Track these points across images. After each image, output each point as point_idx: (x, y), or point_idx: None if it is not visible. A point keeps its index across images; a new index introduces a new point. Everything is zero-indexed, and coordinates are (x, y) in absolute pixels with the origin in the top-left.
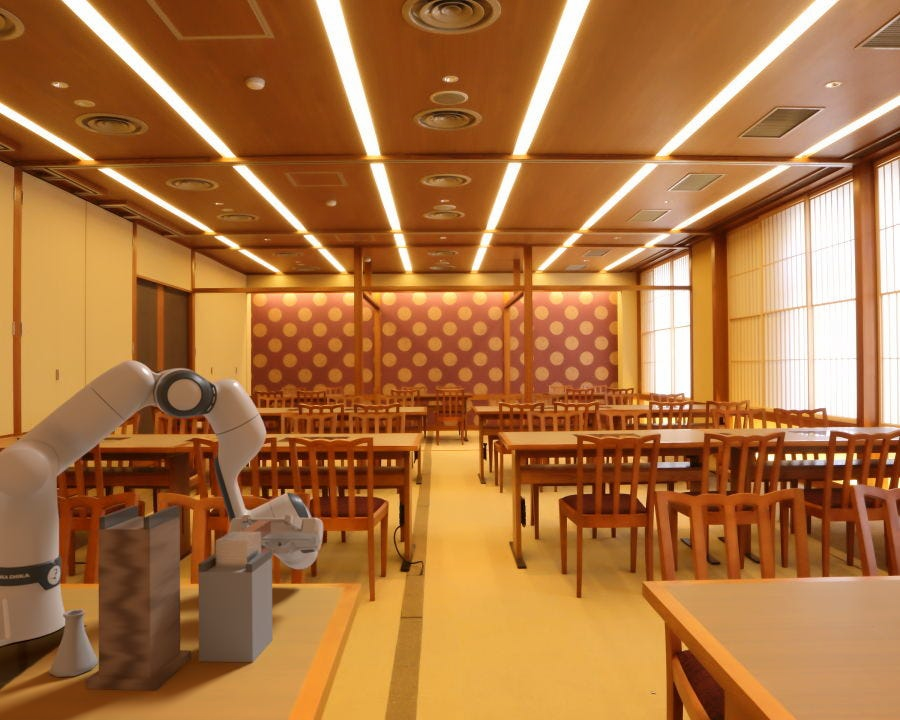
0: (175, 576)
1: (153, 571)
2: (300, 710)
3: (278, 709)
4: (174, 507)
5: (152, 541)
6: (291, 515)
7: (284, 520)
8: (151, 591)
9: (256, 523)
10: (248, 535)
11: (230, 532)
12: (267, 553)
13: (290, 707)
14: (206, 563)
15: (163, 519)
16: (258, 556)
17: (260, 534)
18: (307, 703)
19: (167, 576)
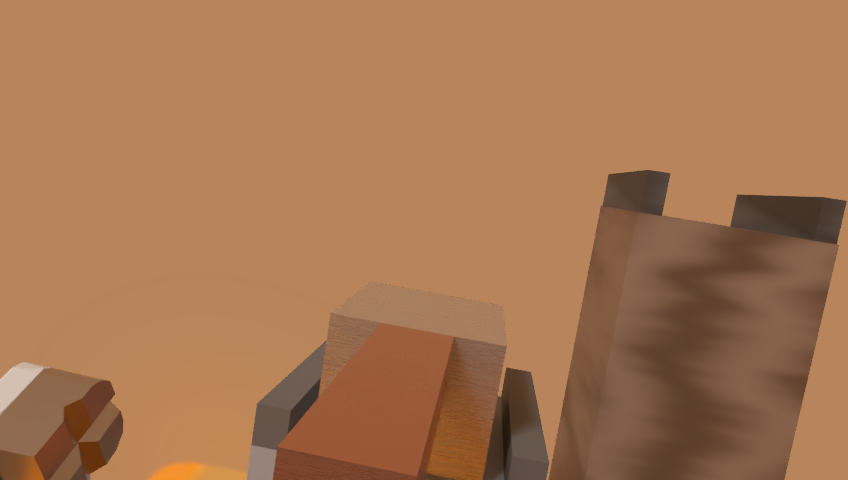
0: (590, 409)
1: (582, 322)
2: (187, 464)
3: (227, 474)
4: (639, 171)
5: (596, 241)
6: (28, 363)
7: (116, 418)
8: (571, 366)
9: (409, 409)
10: (384, 303)
11: (502, 340)
12: (279, 385)
13: (203, 474)
14: (506, 374)
15: (618, 196)
16: (318, 365)
17: (331, 324)
18: (168, 476)
19: (585, 377)
